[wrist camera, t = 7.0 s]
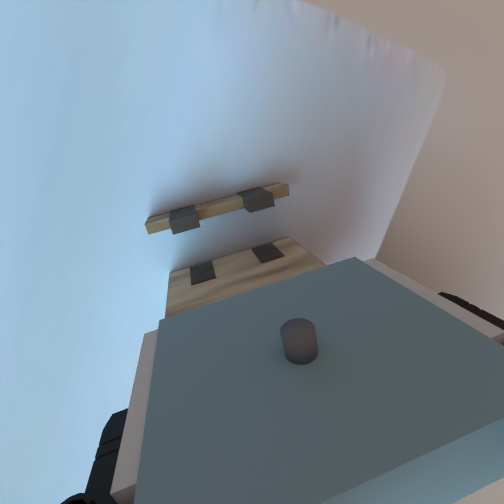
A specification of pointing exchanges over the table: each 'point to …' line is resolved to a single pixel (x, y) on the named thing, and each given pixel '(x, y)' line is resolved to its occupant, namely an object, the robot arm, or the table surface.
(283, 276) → the cabinet
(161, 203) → the table surface
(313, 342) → the door
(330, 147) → the table surface
